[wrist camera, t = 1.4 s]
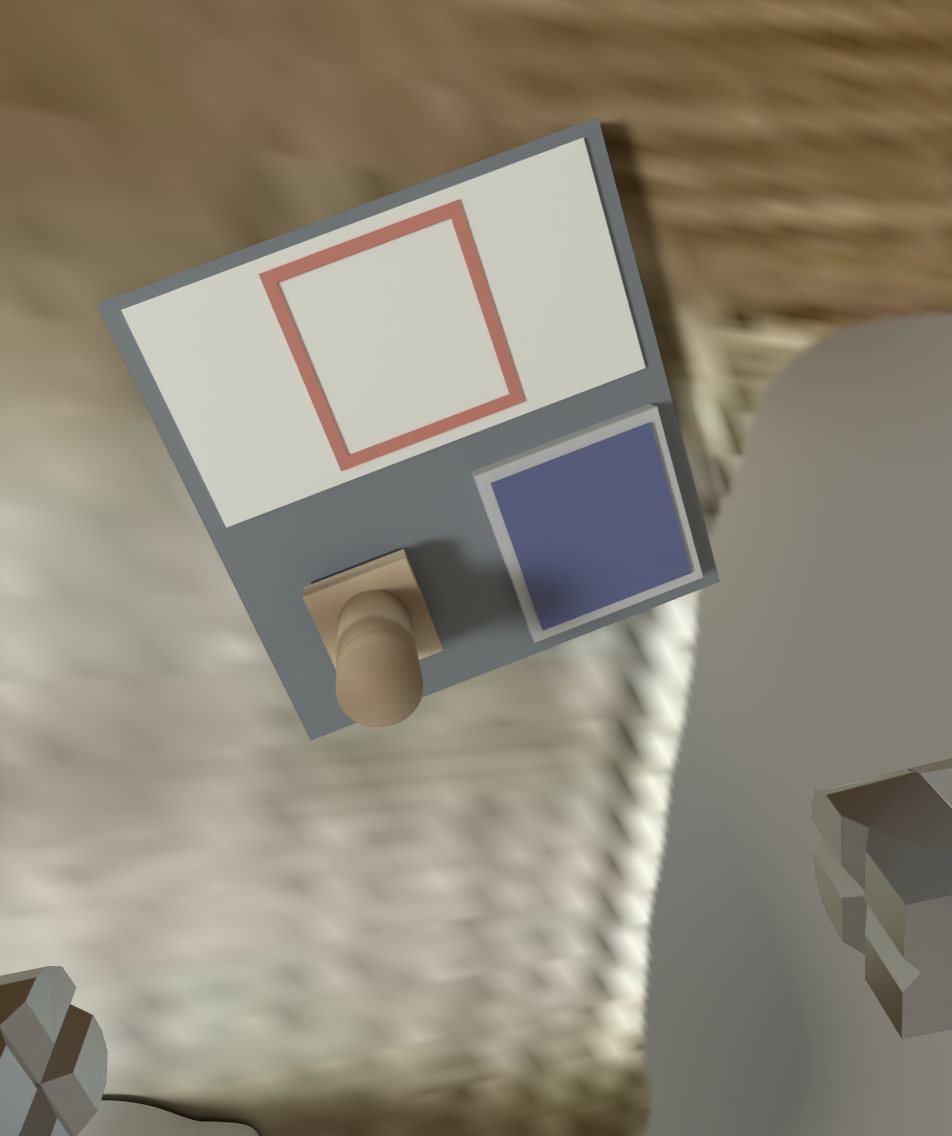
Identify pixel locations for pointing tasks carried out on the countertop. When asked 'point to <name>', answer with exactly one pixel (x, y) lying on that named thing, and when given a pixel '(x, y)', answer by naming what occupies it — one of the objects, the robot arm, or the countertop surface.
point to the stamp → (375, 636)
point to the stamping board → (431, 414)
